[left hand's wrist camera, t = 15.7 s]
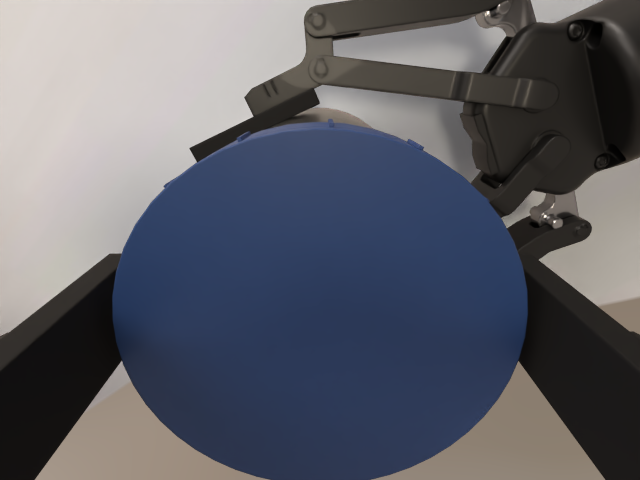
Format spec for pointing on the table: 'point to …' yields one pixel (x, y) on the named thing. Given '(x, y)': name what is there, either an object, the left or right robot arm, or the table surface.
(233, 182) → the lid
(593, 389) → the left robot arm
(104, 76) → the table surface
